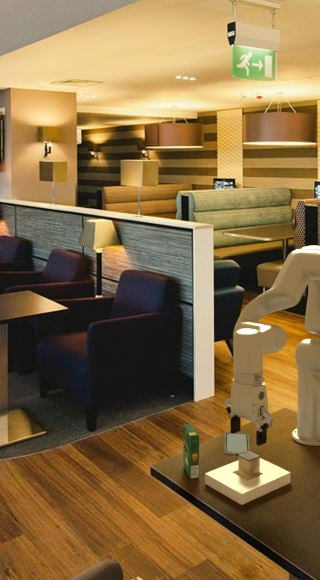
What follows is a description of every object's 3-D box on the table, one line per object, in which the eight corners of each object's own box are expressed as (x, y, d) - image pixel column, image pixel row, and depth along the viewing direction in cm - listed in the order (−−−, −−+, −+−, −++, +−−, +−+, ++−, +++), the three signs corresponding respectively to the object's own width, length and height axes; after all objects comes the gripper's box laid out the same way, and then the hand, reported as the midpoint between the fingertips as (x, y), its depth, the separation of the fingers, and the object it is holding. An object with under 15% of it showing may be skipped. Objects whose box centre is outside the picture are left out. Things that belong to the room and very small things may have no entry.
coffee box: (200, 479, 171) (199, 434, 168) (190, 480, 170) (189, 435, 168) (193, 466, 178) (192, 422, 176) (183, 467, 178) (182, 423, 175)
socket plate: (253, 464, 179) (253, 454, 178) (290, 482, 168) (290, 472, 167) (205, 483, 168) (205, 473, 168) (241, 504, 157) (241, 494, 157)
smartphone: (248, 432, 199) (249, 453, 185) (248, 435, 200) (249, 455, 185) (224, 432, 200) (224, 452, 185) (224, 434, 200) (224, 455, 186)
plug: (249, 478, 171) (249, 450, 169) (259, 483, 168) (259, 455, 166) (238, 482, 169) (238, 454, 167) (248, 488, 165) (248, 460, 164)
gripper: (283, 381, 158) (282, 445, 161) (235, 365, 171) (235, 424, 175) (262, 388, 153) (261, 453, 157) (215, 371, 167) (215, 431, 170)
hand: (248, 438), depth 166 cm, fingers open, 9 cm apart
